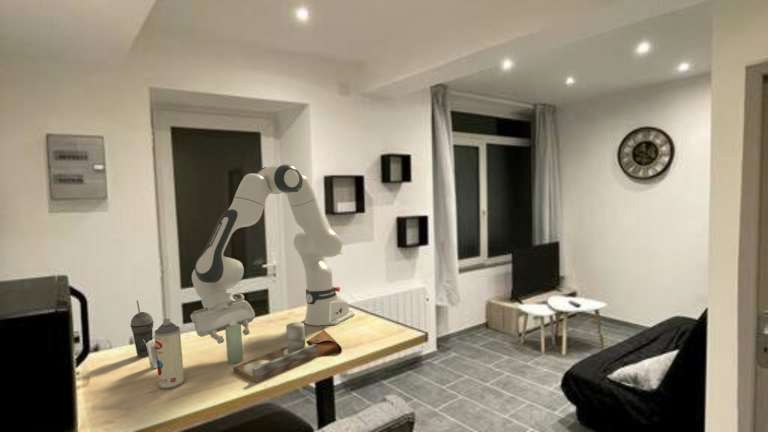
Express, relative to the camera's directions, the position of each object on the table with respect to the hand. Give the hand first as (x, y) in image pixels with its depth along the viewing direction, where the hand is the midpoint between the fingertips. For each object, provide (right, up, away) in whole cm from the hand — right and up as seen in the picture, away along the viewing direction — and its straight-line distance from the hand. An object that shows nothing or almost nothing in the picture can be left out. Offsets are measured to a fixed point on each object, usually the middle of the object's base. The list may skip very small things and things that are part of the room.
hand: (234, 338), depth 143 cm
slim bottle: (0, -8, +1) cm, 8 cm away
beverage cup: (-35, -9, +9) cm, 38 cm away
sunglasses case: (+28, -7, +10) cm, 31 cm away
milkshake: (-26, -9, -2) cm, 28 cm away
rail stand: (+15, -8, -3) cm, 17 cm away
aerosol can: (-14, -10, -15) cm, 23 cm away
